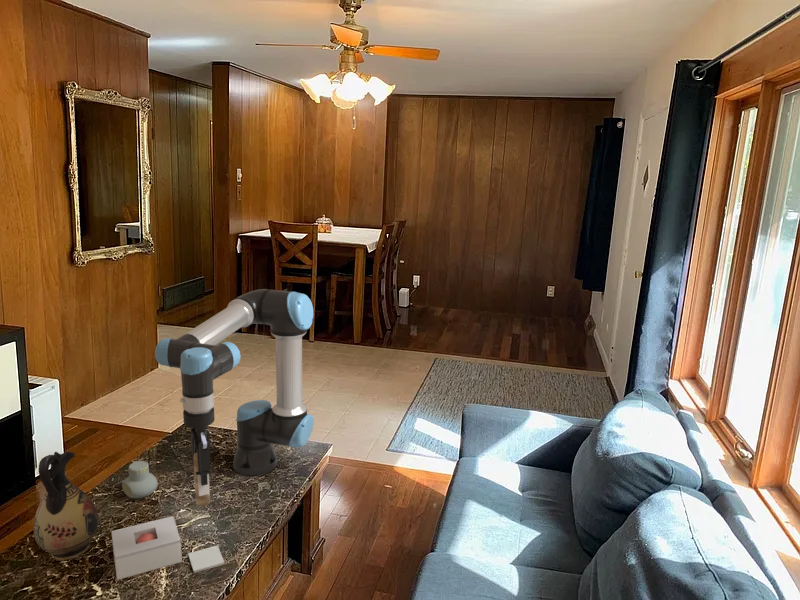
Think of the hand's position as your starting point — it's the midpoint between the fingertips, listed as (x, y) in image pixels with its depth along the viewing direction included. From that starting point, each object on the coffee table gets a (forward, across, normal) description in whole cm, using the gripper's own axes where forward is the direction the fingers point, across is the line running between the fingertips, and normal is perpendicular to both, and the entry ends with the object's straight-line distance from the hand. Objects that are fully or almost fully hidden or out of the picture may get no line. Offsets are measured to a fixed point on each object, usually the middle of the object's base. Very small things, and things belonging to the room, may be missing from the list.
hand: (202, 490), depth 159 cm
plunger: (+20, -8, -14) cm, 26 cm away
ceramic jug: (+22, -20, -33) cm, 44 cm away
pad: (+21, 0, 0) cm, 21 cm away
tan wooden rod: (+4, 0, 0) cm, 4 cm away
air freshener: (+22, -42, -12) cm, 49 cm away
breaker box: (+21, -8, -14) cm, 27 cm away
